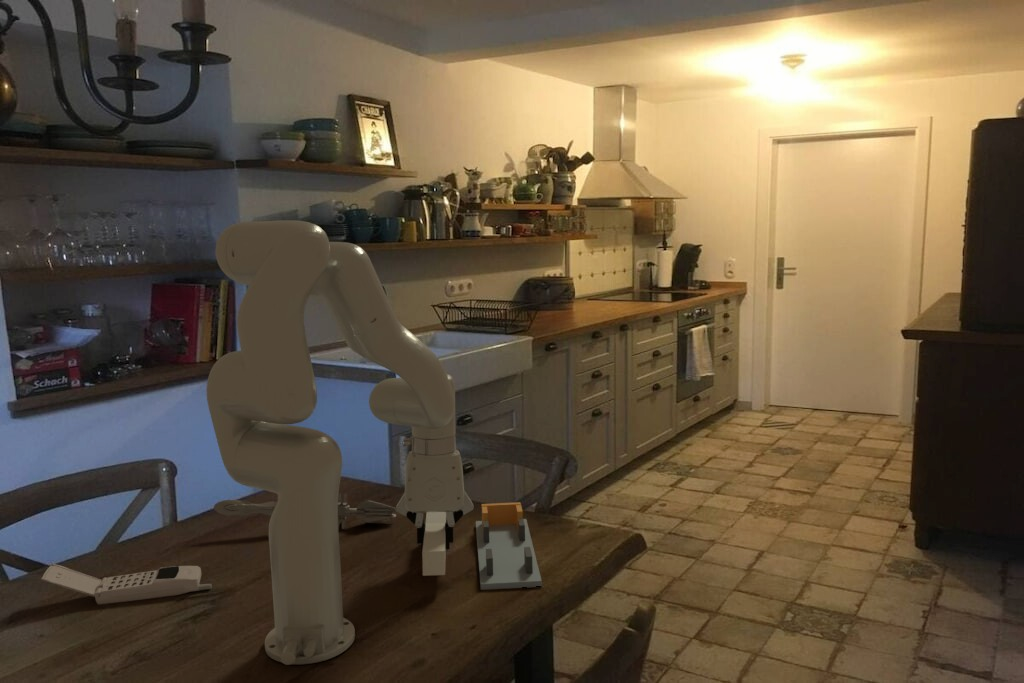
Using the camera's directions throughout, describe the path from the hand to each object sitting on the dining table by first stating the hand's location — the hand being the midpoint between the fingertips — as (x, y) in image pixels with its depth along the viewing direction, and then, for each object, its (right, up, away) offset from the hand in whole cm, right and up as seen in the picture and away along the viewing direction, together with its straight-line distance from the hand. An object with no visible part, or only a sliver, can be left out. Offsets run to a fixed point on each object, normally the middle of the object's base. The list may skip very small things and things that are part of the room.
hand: (435, 545), depth 143 cm
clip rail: (+12, -2, +4) cm, 13 cm away
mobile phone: (-49, -6, -9) cm, 50 cm away
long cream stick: (0, -1, 0) cm, 1 cm away
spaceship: (-27, -1, +18) cm, 32 cm away
